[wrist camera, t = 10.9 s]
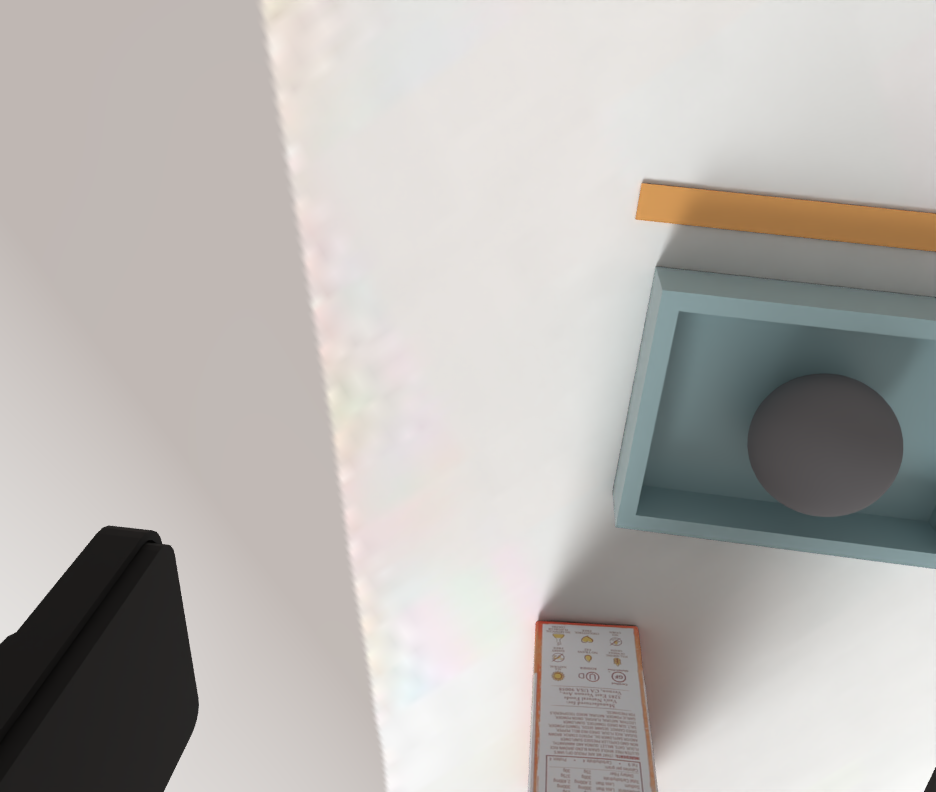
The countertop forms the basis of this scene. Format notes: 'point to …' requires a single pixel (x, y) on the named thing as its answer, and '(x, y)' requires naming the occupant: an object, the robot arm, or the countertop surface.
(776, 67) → the countertop surface
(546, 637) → the cracker box
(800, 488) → the ball
